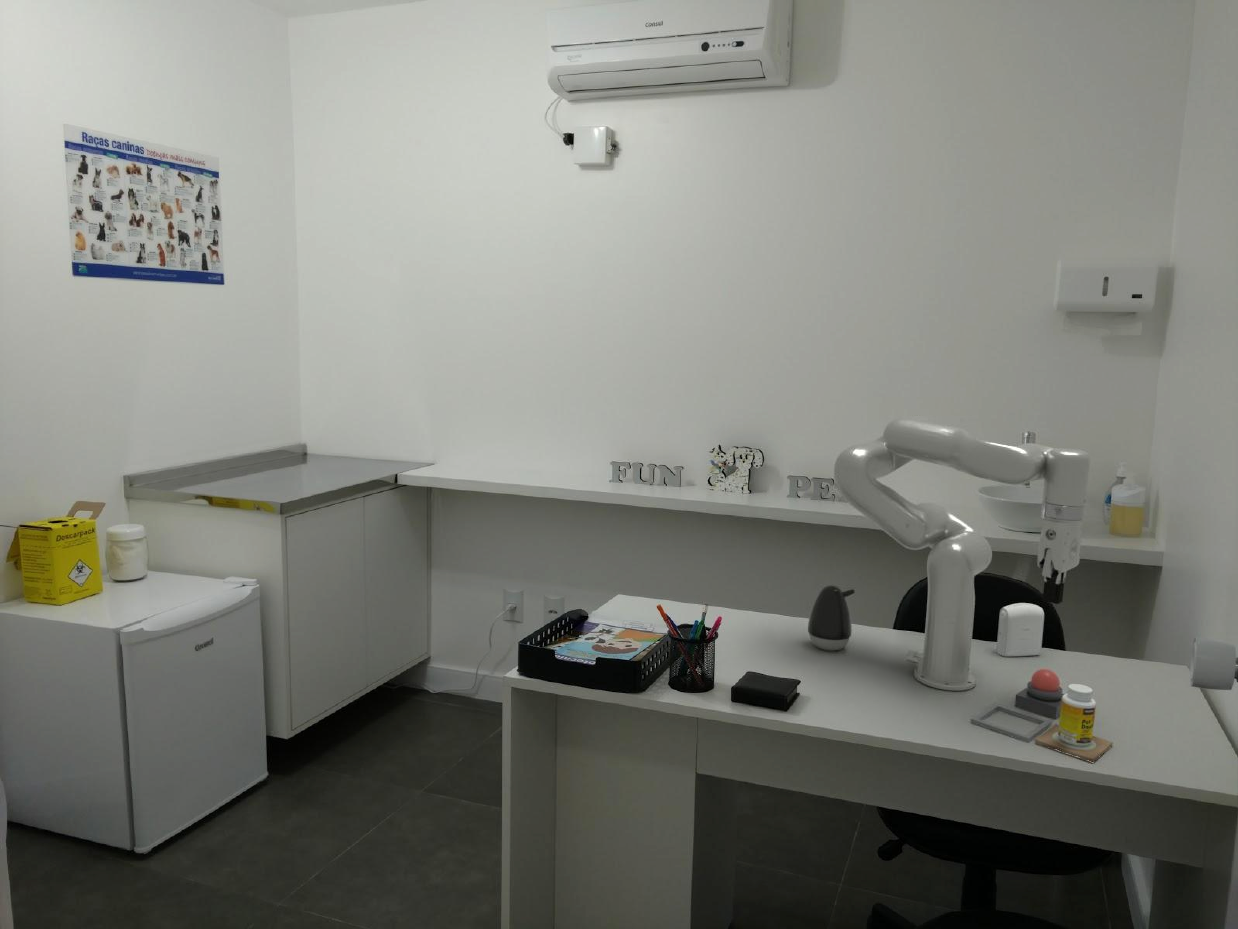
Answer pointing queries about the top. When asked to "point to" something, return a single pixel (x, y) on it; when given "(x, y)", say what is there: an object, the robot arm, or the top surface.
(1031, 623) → the photo printer
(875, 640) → the top surface
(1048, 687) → the dome cap
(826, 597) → the pump dispenser
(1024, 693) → the dome housing
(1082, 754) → the pad
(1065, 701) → the supplement bottle
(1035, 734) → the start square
